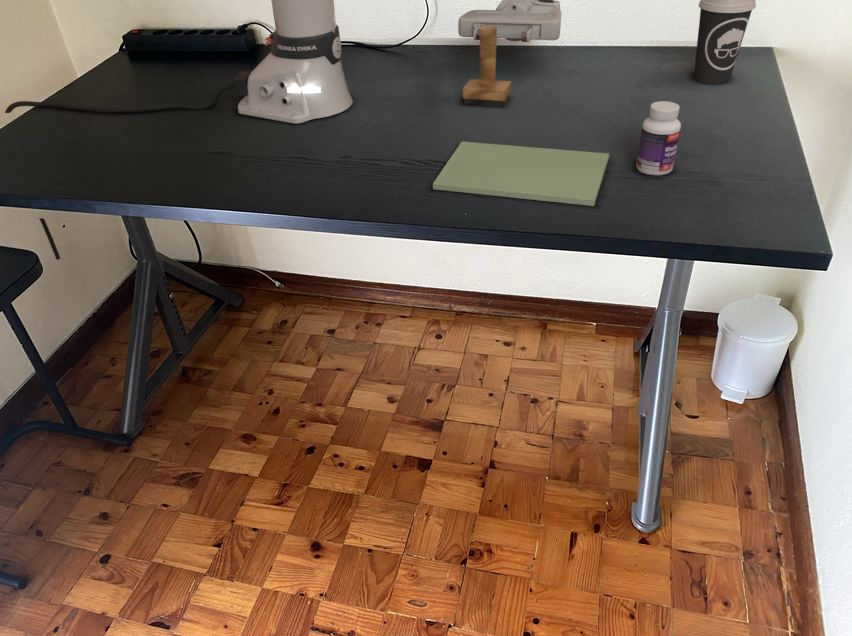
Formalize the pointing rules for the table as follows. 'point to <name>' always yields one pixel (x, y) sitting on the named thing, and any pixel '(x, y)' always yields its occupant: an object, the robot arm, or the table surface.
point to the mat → (524, 173)
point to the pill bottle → (659, 139)
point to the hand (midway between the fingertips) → (500, 36)
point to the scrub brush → (487, 75)
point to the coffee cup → (720, 38)
